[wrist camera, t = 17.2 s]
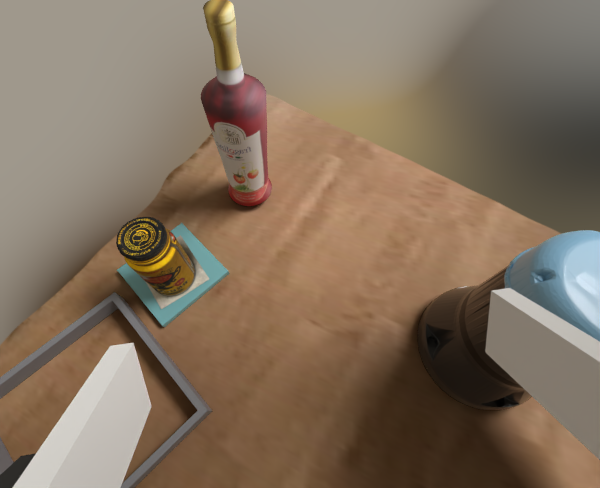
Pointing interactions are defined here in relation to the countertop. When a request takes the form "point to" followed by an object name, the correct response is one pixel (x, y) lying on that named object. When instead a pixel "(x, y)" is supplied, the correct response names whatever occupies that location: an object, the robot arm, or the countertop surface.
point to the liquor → (236, 111)
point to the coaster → (177, 307)
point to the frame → (72, 333)
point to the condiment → (160, 259)
